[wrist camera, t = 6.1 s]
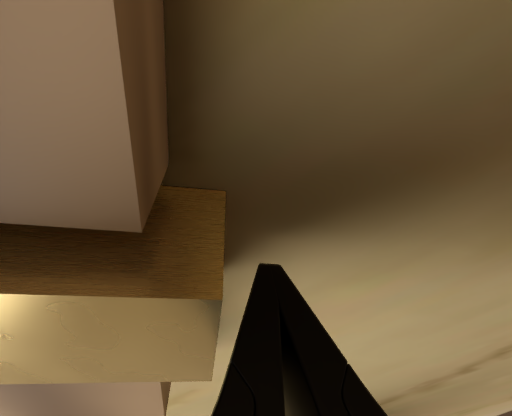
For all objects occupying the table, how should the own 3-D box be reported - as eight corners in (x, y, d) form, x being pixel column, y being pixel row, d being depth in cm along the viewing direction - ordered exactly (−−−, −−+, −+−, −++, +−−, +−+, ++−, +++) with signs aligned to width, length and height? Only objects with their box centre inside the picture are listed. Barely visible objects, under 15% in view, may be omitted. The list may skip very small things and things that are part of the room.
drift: (226, 191, 9) (222, 300, 5) (217, 272, 11) (211, 381, 8) (-22, 169, 8) (-204, 288, 4) (27, 264, 10) (-69, 385, 7)
